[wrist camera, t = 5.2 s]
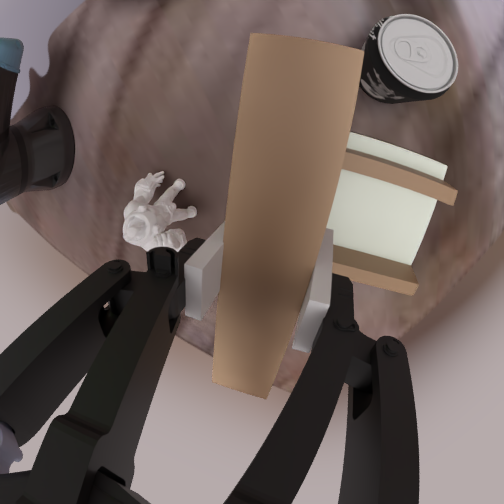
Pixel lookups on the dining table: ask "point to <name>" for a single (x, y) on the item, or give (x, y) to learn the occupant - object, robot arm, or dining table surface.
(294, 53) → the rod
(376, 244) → the rest stand
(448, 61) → the beverage can
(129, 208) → the figurine
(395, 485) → the robot arm
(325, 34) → the dining table surface
